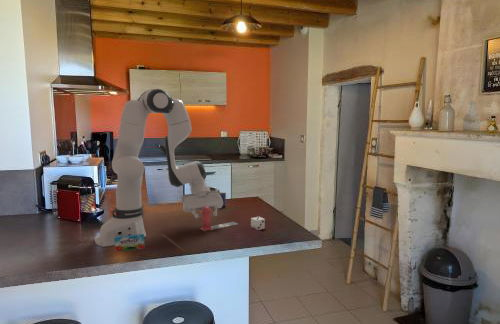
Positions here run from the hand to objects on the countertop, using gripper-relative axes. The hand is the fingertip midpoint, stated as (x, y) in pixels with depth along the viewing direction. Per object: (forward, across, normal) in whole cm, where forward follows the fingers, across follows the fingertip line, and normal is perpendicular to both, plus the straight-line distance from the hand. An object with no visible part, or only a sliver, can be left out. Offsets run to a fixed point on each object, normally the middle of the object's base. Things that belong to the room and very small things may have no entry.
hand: (206, 216), depth 174 cm
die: (+10, +25, 0) cm, 27 cm away
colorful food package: (+12, -38, -1) cm, 39 cm away
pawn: (+4, 0, +5) cm, 6 cm away
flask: (-24, +22, +35) cm, 47 cm away
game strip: (+4, +7, +6) cm, 10 cm away
